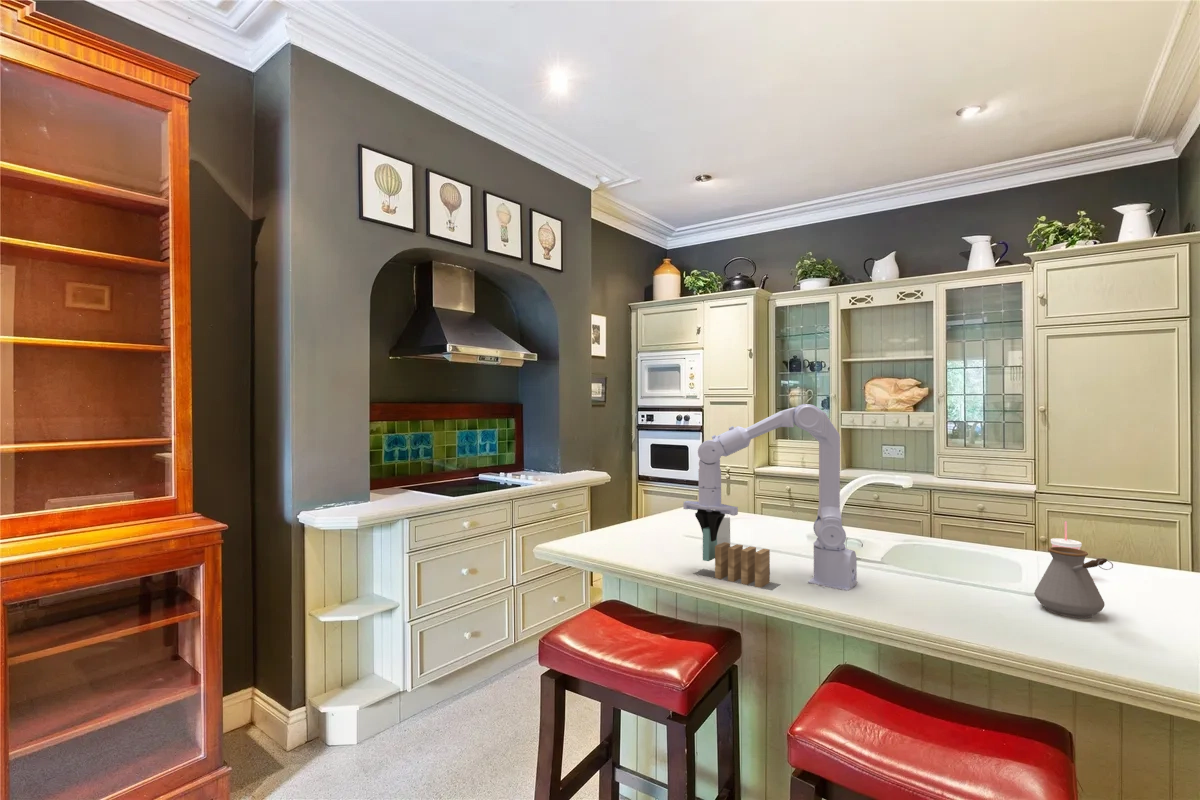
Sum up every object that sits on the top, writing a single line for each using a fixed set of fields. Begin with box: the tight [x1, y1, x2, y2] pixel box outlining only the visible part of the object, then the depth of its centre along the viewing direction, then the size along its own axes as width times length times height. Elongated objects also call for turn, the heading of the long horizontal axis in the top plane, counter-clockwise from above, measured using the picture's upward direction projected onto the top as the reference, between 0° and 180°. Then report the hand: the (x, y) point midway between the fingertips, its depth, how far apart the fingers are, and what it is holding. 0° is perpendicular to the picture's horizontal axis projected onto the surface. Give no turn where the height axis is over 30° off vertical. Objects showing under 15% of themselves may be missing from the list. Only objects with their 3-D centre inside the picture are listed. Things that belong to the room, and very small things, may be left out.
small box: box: [717, 514, 731, 545], centre depth 172 cm, size 8×6×10 cm
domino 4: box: [755, 548, 771, 589], centre depth 138 cm, size 2×5×8 cm, turn 141°
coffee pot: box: [1034, 546, 1114, 619], centre depth 116 cm, size 21×12×15 cm, turn 161°
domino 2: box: [727, 544, 744, 583], centre depth 143 cm, size 2×5×8 cm, turn 141°
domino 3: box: [740, 546, 757, 586], centre depth 141 cm, size 2×5×8 cm, turn 141°
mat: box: [692, 568, 782, 591], centre depth 143 cm, size 21×6×1 cm, turn 51°
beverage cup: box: [1050, 520, 1083, 550], centre depth 145 cm, size 6×6×14 cm
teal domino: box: [702, 527, 717, 562], centre depth 147 cm, size 2×5×8 cm, turn 143°
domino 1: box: [714, 542, 731, 580], centre depth 145 cm, size 2×5×8 cm, turn 141°
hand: (710, 540), depth 147 cm, fingers closed on teal domino, 1 cm apart
